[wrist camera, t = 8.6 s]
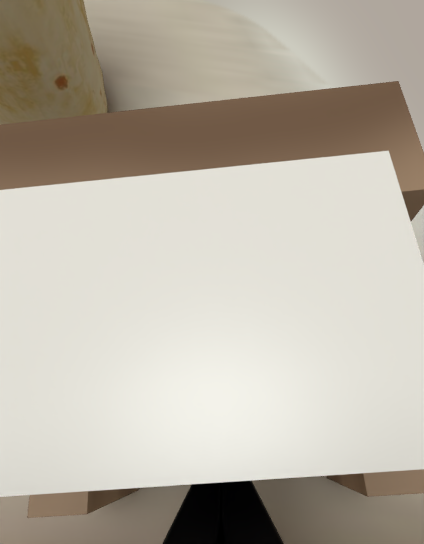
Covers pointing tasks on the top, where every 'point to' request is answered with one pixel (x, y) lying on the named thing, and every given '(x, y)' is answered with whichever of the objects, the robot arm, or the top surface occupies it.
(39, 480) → the white rectangular block
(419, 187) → the housing
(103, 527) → the top surface
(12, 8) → the food model
